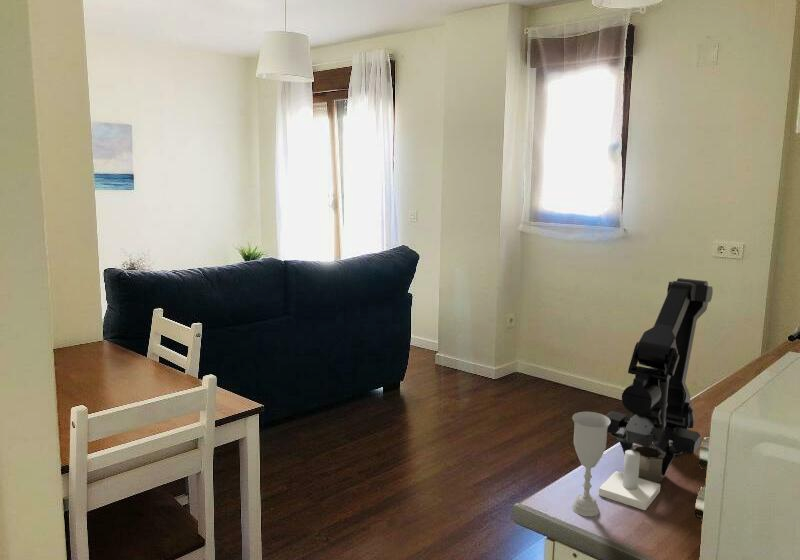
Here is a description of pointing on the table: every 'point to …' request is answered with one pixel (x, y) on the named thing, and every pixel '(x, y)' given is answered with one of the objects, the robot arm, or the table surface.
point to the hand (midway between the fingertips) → (646, 469)
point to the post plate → (629, 494)
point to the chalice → (589, 454)
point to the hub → (650, 462)
